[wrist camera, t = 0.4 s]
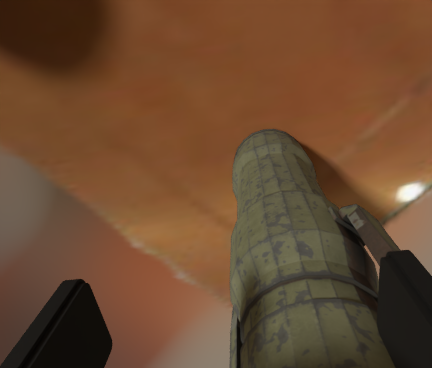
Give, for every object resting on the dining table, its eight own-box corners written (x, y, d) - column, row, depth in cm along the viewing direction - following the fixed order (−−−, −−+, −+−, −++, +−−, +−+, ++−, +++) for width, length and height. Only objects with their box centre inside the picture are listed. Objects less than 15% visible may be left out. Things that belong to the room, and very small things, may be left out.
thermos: (327, 142, 38) (781, 637, 6) (269, 213, 43) (364, 714, 11) (268, 102, 37) (470, 483, 5) (214, 179, 41) (134, 646, 9)
